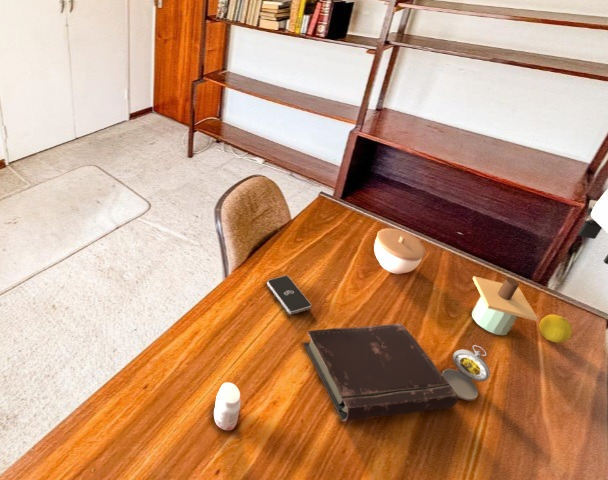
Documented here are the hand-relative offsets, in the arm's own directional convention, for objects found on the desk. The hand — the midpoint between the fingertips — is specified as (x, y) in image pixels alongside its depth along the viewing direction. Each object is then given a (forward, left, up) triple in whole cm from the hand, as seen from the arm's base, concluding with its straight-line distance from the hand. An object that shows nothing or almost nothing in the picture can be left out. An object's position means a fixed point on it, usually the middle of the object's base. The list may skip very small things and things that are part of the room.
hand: (598, 249), depth 92 cm
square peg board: (+14, +4, -18) cm, 23 cm away
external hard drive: (+65, +16, -26) cm, 72 cm away
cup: (+14, +4, -26) cm, 30 cm away
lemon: (+2, +5, -26) cm, 27 cm away
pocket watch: (+27, +26, -26) cm, 46 cm away
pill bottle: (+76, +52, -26) cm, 96 cm away
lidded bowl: (+35, -9, -26) cm, 45 cm away
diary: (+46, +31, -26) cm, 61 cm away
